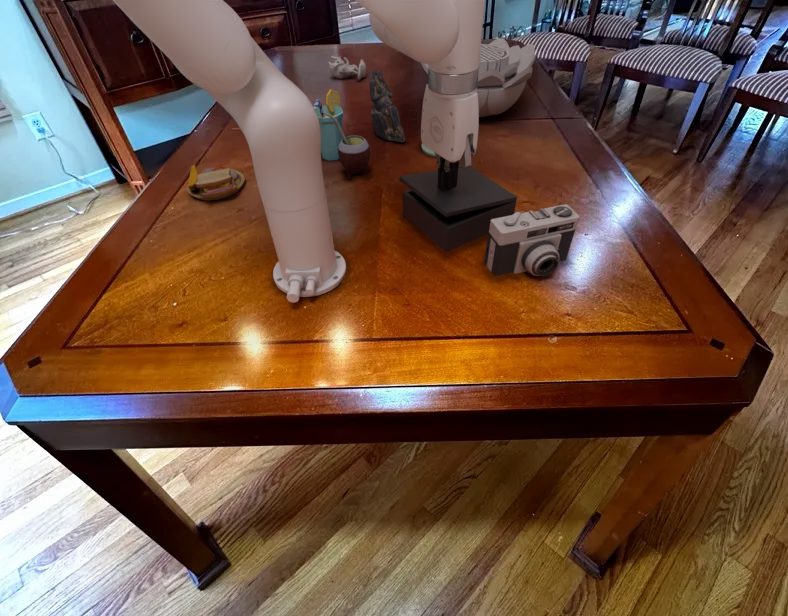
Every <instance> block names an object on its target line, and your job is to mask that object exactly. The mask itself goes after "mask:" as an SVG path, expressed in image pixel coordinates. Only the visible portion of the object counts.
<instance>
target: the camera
mask: <svg viewBox="0 0 788 616" xmlns="http://www.w3.org/2000/svg"><path fill="white" fill-rule="evenodd" d="M579 221H580V215H579V214H578V213H577V212H576V211H575V210H574V209H573V208H572V207H570V205H568V204H567V203H565V204H560V205H555V206H550V207H545V208H542V207H541V208H539V210H536V211H534V210H531V209H530V210H529V211H526V212H525V211H515V212H514V214H513V215H510V216H505V217H500V218H495V219H492V220H491V222H490V229H489V233H488V235H487V240H486V247H485V254H484V260H483V263H484V264H485V265H486V267H487V269H488V270H489V271H490V273H491V274H492V275H493V276H496V277H497V276H502V275H506V274H511V273H513V274H515V275H517V274H520V273H526V272H527V273H530V274H532V276H535V277H540V276H541V277H546V276H549V275H551V274H553V272H555V270H556V269H557V268H558V266H559V263H560V262H564V261H566V260H567V258H568V254H569V252H570V248H571V245H572V243H573V239H574V236H575V232H576V230H577V227H578V223H579Z"/></svg>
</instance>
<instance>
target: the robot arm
mask: <svg viewBox="0 0 788 616" xmlns="http://www.w3.org/2000/svg"><path fill="white" fill-rule="evenodd" d="M354 1H355V2H356V3H357V4H359V5H360V6H361V7H362V8H364V9H365V10H366V11H367V12H368V19H369V24H370V27H371V30H372V32H373V34H374V35H375V37H377V39H378V40H379V41H380V42H381V43H383V44H385V46H388V47H390V48H392V49H393V50H395V51H397V52H399V53H402V54H403V55H405V56H407V57H409V58H410V59H412V60H414V61H416V62H417V63H420V64H421V63H425V64H428V74H427V83H426V85H425V90H424V94H423V99H422V100H423V101H422V108H421V122H420V141H421V144H422V143H423V144H424V145H425V146H426V147H428V148H429V149H431V150H432V151H434V153H435V155H436V157H435V165H436V166H437V170H438V186H437V187H438V188H439V189H441V190H442V191H443V192H444V191H447V190H450V189H452V188H455V187H456V186H457V178H458V168H463V169H465V168H468V167H471V168H472V165H473V163H472V157H473V156H475V155H476V152H477V149H478V142H479V141H478V140H479V127H480V125H479V122H480V119H479V118H480V117H479V107H478V93H477V92H476V91H477V83H478V72H479V60H480V49H481V44H482V37H483V28H484V14H485V5H486V0H354ZM112 2H113V3H114V4H115V5H116V6H117V7H118V8H119V9H120V10H121V11H122V12H123V13H124V14H125V15H126V16H127V17H128V18H129V20H130V21H131V22H132V23H133V24H134V25H135V26H136V27H137V28H138V29H139V30H141V32H142V33H143V34H144V35H145V36H146V37H147V38H148V39H149V40H150V41H151V42H152V43H153V44H154V45H155V46H156V47H157V48H158V49H159V50H160V51H161V52H162V53H163V54H164V55H165V57H167V58H168V59H169V60H170V61H171V63H172V64H173V65H174V66H175V68H176V69H177V70H178V71H179V73H181V74H182V75H183V76H184V78H186V79H187V80H188V81H190V82H191V83H192V84H193V85H195V86H196V87H199V88H200V89H202V90H204V91H206V93H208V95H210V96H211V97H212V98H213V99H214V100H215V102H217V103H218V104H219V105H220V106H221V107H222V108H223V109H224V110H225V111H226V112H227V113H228V114H229V115H230V117H232V118H233V120H234V121H235V123H236V125H237V126H238V128H239V129H240V131H241V132H242V133H243V134H242V135H244V138H245V140H246V142H247V145H248V148H249V151H250V155H251V160H252V166H253V171H254V176H255V180H256V184H257V189H258V192H259V196H260V199H261V200H260V201H261V202H262V205H263V209H264V213H265V216H266V220H267V224H268V228H269V231H270V234H271V239H272V243H273V245H274V246H273V247H274V250H275V253H276V257H277V260H278V261H277V262H276V263H275V265H274V267H273V270H272V276H273V277H272V278H273V281H274V283H275V285H276V287H277V288H278V289H279V290H280V291H281V292H283V293H285V294H286V297H285V298H286V300H287V301H288V302H289V303H298V301H300V298H312V297H316V296H320V295H323V294H327V293H329V292H331V291H332V290H334V289H335V288H337V287H338V286H339V285H340V284H341V283H342V280H343V278H344V276H345V275H346V272H347V263H346V260H345V258H344V256H343V255H342V254H341V253H340V252H339V251H337V250H335V243H334V238H333V237H334V236H333V231H332V225H331V218H330V211H329V206H328V199H327V193H326V186H325V181H324V180H325V179H324V175H323V174H324V173H323V167H322V166H323V165H322V153H321V131H320V124H319V120H318V117H317V114H316V111H315V109H314V107H313V105H314V104H313V103H312V102H311V100H310V99H309V98H308V96H307V95H306V94H305V93H304V92H303V91H302V90H301V89H300V88H299V87H298V86H297V85H296V84H295V83H294V82H293V81H292V80H291V79H289V78H288V77H287V76H286V75H285V74H284V73H282V71H281V70H280V69H279V68H278V67H277V66H276V65H275V64H274V63H273V62H272V60H271V59H270V58H269V56H268V55H267V54H266V53H265V52H264V50H262V48H261V47H260V45H259V44H258V43H257V42H256V41H255V40H254V38H253V37H252V36H251V34H250V31H249V30H248V27H247V26H246V24H245V23H244V21H243V19H242V18H241V17H240V16H239V15H238V12H236V11H235V10H234V8H232V7H231V6H230V5H229V4H228V3H227V2H226V1H224V0H112Z"/></svg>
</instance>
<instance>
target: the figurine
mask: <svg viewBox="0 0 788 616" xmlns="http://www.w3.org/2000/svg"><path fill="white" fill-rule="evenodd" d="M341 57H342V56H339V55H338V56H335V55H331V56H330V58H331V59H333V60H335V61H334V62H331V61H328V65H329V66H328V69H329V73H330V74H331V75H332V76H333V77H334V78H336V79H338V80H342V79H348V78H350V76H351V75H353V76H354V75H357V81H358V82H359V81H361V79H363V78H366V74H367V65H366V63H365V61H364V58H363V59H360V60H359V61H360V62H359V64H358V66H357V65H356V64H350V63H351V61H350V60H348V58H347V57H343V59H344V60H342V58H341ZM345 61H346V62H345Z"/></svg>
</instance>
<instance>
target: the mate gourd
mask: <svg viewBox="0 0 788 616" xmlns="http://www.w3.org/2000/svg"><path fill="white" fill-rule="evenodd" d="M322 112H323V111H322ZM323 113H324V114H325V115H327V116H329V117H330V118H331V119H333V121H334V123H335V125H337V127H338V129H339V131H340V133H341V135H342V137H343V139H342V140H341V142H340V144H339V146H338V156H339V159H338V160H339V163H340V164H341V166H342V168H343V171H344V173H347V178H346V179H347V181H349V182H350V181H351V180H353V175H357V174H361V175H368V170H369V163H370V161H371V160H370V159H371V149H370V148H371V147H370V145H369V143H368V141H367V139H366V138H364V137H363V136H361V135H355V134H353V135H347V136H345V134H344V131H343V128H342V129H341V127H340V125H339V122H338V120H337V119H335V118H334V117H333V116H332V115H330V114H328V113H325V112H323Z"/></svg>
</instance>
